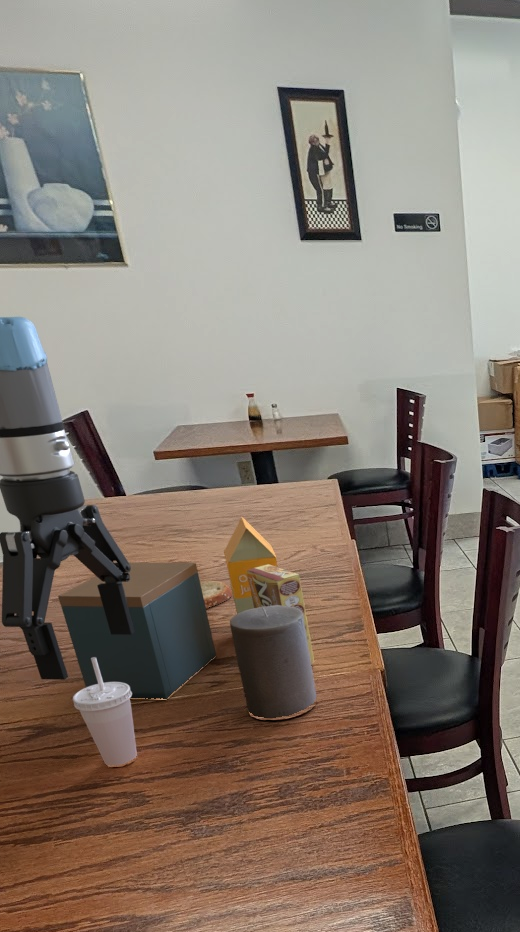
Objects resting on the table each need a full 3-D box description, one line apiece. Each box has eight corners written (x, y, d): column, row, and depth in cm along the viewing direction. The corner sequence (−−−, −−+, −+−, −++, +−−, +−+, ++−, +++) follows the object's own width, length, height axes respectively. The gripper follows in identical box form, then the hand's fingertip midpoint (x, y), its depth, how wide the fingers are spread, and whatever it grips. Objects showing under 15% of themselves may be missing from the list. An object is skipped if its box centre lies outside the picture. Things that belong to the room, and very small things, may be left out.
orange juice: (243, 647, 138) (219, 530, 129) (239, 630, 145) (216, 518, 136) (291, 639, 141) (271, 524, 132) (284, 623, 148) (265, 512, 139)
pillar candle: (241, 725, 113) (219, 623, 106) (254, 694, 121) (234, 598, 115) (314, 718, 114) (297, 617, 107) (321, 689, 123) (306, 593, 116)
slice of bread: (240, 592, 164) (237, 574, 162) (188, 624, 148) (184, 605, 146) (159, 589, 167) (155, 571, 165) (100, 620, 151) (94, 601, 149)
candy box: (316, 666, 130) (301, 573, 124) (293, 675, 127) (276, 580, 121) (285, 652, 135) (269, 563, 129) (262, 660, 133) (244, 569, 126)
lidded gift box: (89, 699, 121) (57, 596, 114) (146, 656, 135) (122, 562, 128) (166, 700, 120) (140, 596, 113) (216, 657, 134) (195, 562, 127)
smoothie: (154, 745, 108) (128, 647, 102) (140, 770, 102) (111, 668, 96) (102, 750, 107) (72, 651, 101) (85, 776, 101) (53, 672, 95)
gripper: (-12, 498, 77) (54, 700, 86) (133, 453, 99) (173, 618, 109) (-86, 499, 78) (-13, 700, 87) (74, 454, 100) (119, 617, 109)
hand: (91, 654), depth 98 cm, fingers open, 13 cm apart
